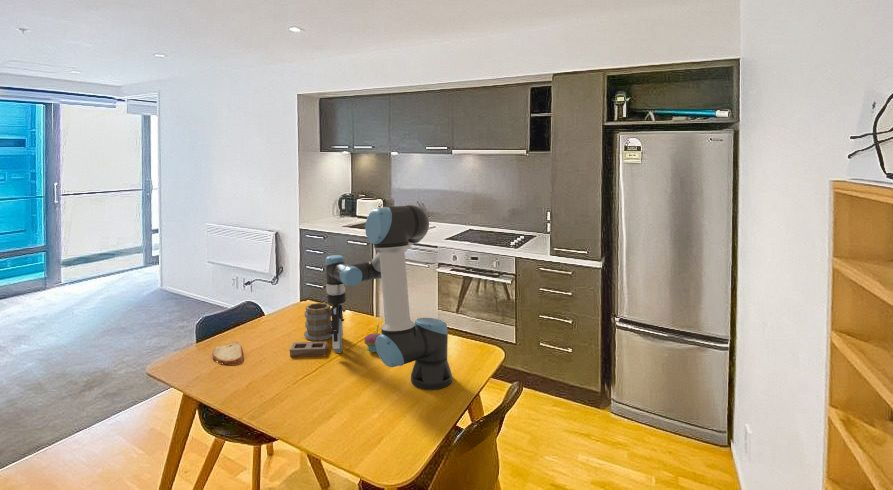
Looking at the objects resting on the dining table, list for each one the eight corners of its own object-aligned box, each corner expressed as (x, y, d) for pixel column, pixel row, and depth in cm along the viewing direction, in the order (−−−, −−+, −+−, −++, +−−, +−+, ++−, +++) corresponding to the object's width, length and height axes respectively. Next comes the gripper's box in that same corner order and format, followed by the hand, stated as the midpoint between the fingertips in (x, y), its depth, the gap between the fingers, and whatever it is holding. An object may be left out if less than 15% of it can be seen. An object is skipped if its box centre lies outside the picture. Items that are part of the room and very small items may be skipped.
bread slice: (237, 367, 194) (236, 358, 194) (196, 363, 198) (196, 354, 197) (262, 349, 212) (262, 341, 211) (225, 346, 215) (224, 338, 215)
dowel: (341, 352, 208) (340, 320, 205) (334, 352, 207) (332, 320, 205) (342, 349, 211) (341, 318, 208) (335, 350, 210) (333, 318, 208)
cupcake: (386, 346, 214) (386, 320, 212) (382, 354, 206) (381, 326, 204) (367, 345, 215) (366, 319, 213) (361, 353, 207) (361, 326, 205)
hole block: (325, 355, 205) (324, 348, 204) (290, 356, 203) (289, 349, 203) (327, 348, 212) (327, 341, 212) (294, 349, 211) (293, 342, 211)
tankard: (299, 338, 223) (297, 306, 220) (314, 329, 235) (313, 298, 232) (339, 343, 217) (337, 311, 215) (352, 334, 229) (351, 302, 227)
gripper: (342, 301, 193) (344, 353, 197) (348, 284, 217) (349, 331, 221) (322, 301, 192) (324, 354, 196) (330, 285, 216) (332, 332, 220)
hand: (338, 342), depth 208 cm, fingers open, 12 cm apart
